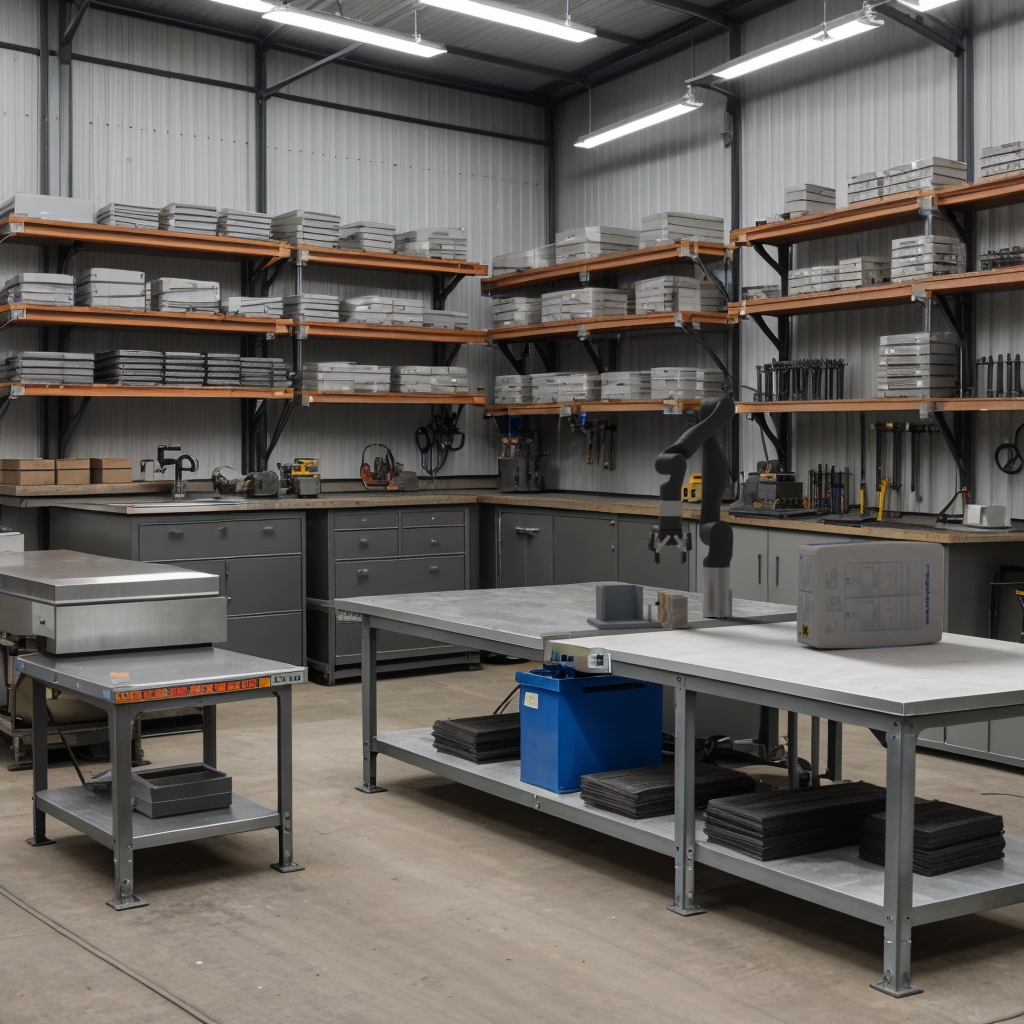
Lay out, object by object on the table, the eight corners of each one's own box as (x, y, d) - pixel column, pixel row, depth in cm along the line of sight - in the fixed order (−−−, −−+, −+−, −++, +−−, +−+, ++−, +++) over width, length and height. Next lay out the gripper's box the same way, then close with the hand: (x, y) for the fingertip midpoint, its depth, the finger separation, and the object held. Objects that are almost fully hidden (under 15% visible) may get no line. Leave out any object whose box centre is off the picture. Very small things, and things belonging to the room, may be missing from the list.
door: (687, 627, 390) (687, 596, 389) (672, 628, 389) (672, 597, 388) (669, 620, 408) (669, 590, 408) (654, 620, 407) (654, 591, 407)
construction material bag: (920, 638, 364) (920, 538, 363) (944, 644, 353) (945, 541, 352) (794, 646, 351) (794, 542, 349) (816, 652, 340) (816, 545, 339)
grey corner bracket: (648, 621, 407) (648, 583, 406) (661, 627, 392) (661, 588, 391) (587, 623, 403) (587, 585, 402) (598, 629, 388) (598, 590, 387)
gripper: (687, 513, 403) (687, 562, 404) (646, 514, 400) (645, 563, 401) (694, 514, 395) (694, 564, 396) (652, 515, 393) (652, 565, 394)
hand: (670, 563), depth 399 cm, fingers open, 8 cm apart
